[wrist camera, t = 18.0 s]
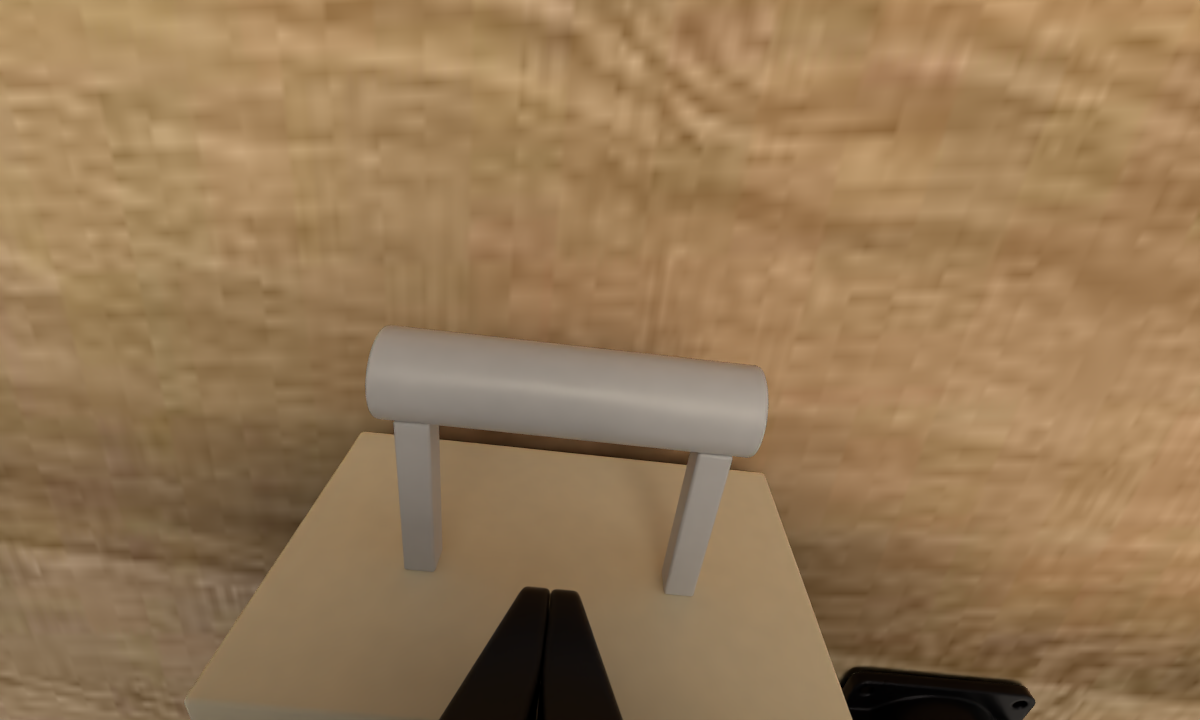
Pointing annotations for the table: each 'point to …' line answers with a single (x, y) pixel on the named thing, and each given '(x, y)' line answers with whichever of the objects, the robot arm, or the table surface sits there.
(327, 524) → the drawer
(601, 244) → the table surface
